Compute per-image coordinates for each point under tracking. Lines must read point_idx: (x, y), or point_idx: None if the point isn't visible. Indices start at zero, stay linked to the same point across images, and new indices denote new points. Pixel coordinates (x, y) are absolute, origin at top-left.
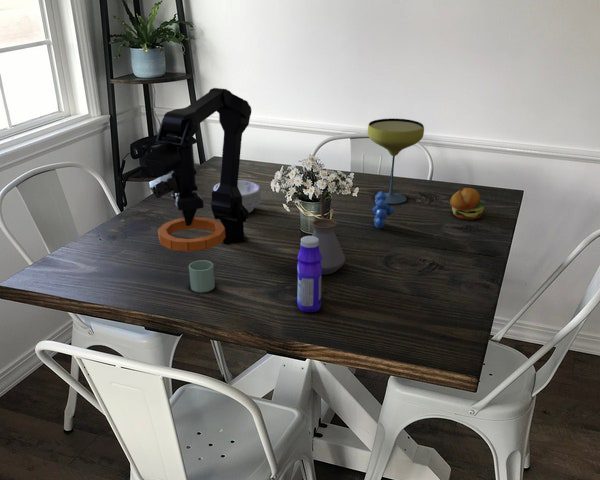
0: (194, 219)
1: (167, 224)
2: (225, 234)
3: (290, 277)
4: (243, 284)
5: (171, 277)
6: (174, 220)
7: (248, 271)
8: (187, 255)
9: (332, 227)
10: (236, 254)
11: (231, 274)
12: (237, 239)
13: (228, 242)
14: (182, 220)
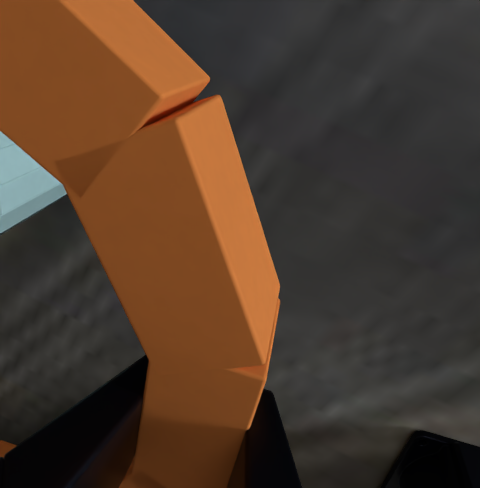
0: (133, 479)
1: (78, 124)
2: (444, 481)
3: (14, 428)
4: (5, 295)
5: (195, 32)
6: (213, 298)
7: (105, 362)
8: (424, 238)
9: None
10: (279, 407)
11: (104, 302)
12: (399, 483)
13: (407, 446)
14: (158, 378)
